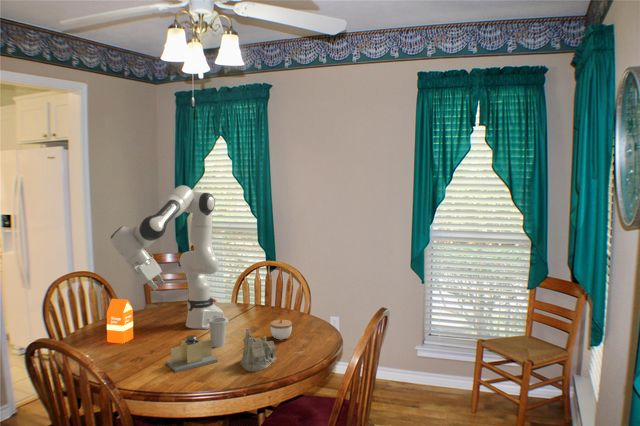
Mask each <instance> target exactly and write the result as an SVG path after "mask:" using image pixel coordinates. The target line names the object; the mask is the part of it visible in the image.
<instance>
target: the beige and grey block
mask: <svg viewBox="0 0 640 426" xmlns="http://www.w3.org/2000/svg"><path fill="white" fill-rule="evenodd" d="M180 343H181V344H180V345H179V346H175V347H171V348H170V360H171V365H175V364H179V363H183V362H185V363H186V364H191V363H195V362H199V361H202V358H203V357H207V356H213V351H212V350H213V349H212V348H213V347H212V340H211V339H206V340H203V341H201V340H200V339H198V338H197V337H196V340H195V343H193V344H188V341H187V339H185V340H181V342H180Z"/></svg>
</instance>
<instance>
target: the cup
mask: <svg viewBox="0 0 640 426" xmlns="http://www.w3.org/2000/svg"><path fill="white" fill-rule="evenodd" d="M226 318H227V317H226ZM226 318H222V317H216V318H211V319H210V320H209V326H210V328H209V333H210V334H209V335H210V336H209V337H210V340H212V348H221V347H224V346H225V345H226V344H225V343H226V342H225V340H226V327H227V323H226Z"/></svg>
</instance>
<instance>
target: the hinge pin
mask: <svg viewBox="0 0 640 426" xmlns="http://www.w3.org/2000/svg"><path fill="white" fill-rule="evenodd" d="M196 338H197V336H196V335H188V336H186V340H187V341H188V344H193V343H195V340H196Z"/></svg>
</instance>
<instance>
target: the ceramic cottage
mask: <svg viewBox="0 0 640 426" xmlns="http://www.w3.org/2000/svg"><path fill="white" fill-rule="evenodd" d="M245 331H246V332H245V336H244V338H243V340H242V342H243V346H244V347H243V351H242V357H241V359H240V365H241V366H242V368H244V370H246V371H248V372H251V373H252V372H254V371H255V372H259V370H261V371H264V370H266V369H265V368H267V367H268V366H269V365H270V364H271V363H272V362H274V361H275V360H276V361H277V357H276V356H275V355H276V346H275V342H274V340H270V341H267V336H265V335H264V336H262V339H261V338H260V337H258V338H255V337H254V336H253V335H252V334H251V333H250V332H251V331H250V329H249V328H246V329H245ZM276 361H275V362H276ZM275 362H274V363H275ZM270 366H271V365H270ZM270 366H269V367H270ZM269 367H268V368H269ZM268 368H267V369H268ZM263 369H264V370H263Z"/></svg>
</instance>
